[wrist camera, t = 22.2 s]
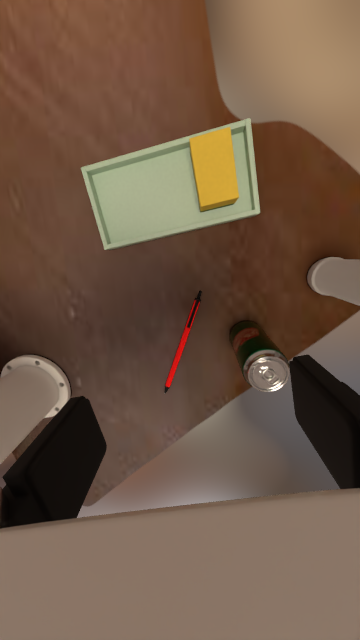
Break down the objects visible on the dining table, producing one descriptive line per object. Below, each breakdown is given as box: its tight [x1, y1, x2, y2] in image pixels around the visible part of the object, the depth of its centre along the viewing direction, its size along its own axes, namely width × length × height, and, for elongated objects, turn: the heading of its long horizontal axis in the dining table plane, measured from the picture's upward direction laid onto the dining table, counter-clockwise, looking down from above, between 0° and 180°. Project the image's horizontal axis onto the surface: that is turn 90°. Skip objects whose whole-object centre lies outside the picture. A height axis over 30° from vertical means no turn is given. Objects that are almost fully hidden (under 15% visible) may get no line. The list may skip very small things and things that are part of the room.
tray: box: [81, 118, 260, 250], centre depth 29 cm, size 21×10×2 cm, turn 102°
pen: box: [165, 291, 202, 393], centre depth 36 cm, size 1×19×1 cm, turn 162°
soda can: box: [230, 321, 289, 392], centre depth 29 cm, size 5×5×12 cm
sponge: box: [189, 127, 239, 212], centre depth 27 cm, size 4×7×4 cm, turn 12°
